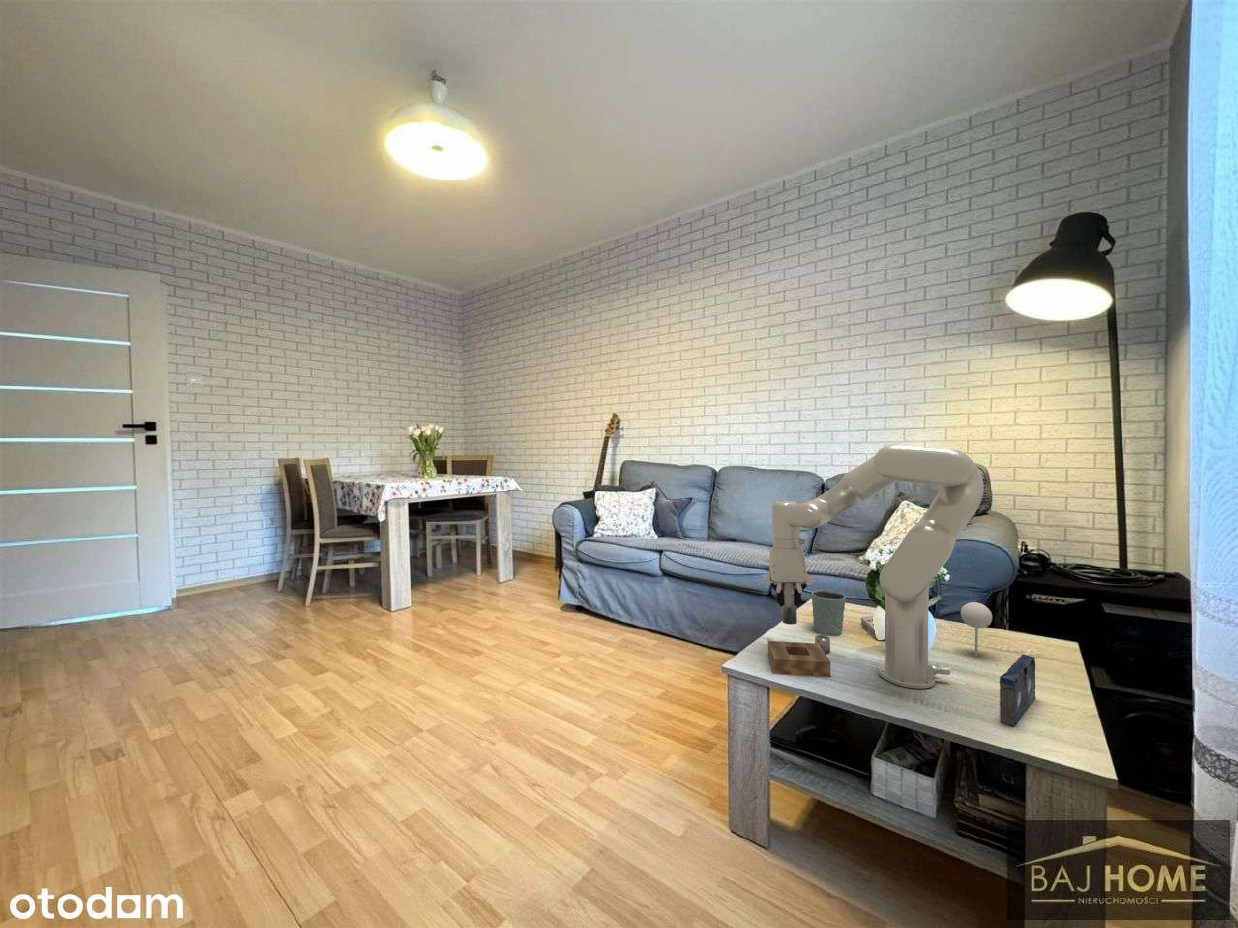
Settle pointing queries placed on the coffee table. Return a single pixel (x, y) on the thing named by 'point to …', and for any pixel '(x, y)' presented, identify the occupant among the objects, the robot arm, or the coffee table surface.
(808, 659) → the hole block
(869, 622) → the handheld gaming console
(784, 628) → the coffee table surface
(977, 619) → the lollipop
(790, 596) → the tall pin
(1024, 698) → the vhs cassette tape
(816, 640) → the short pin
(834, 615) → the grey green cup
